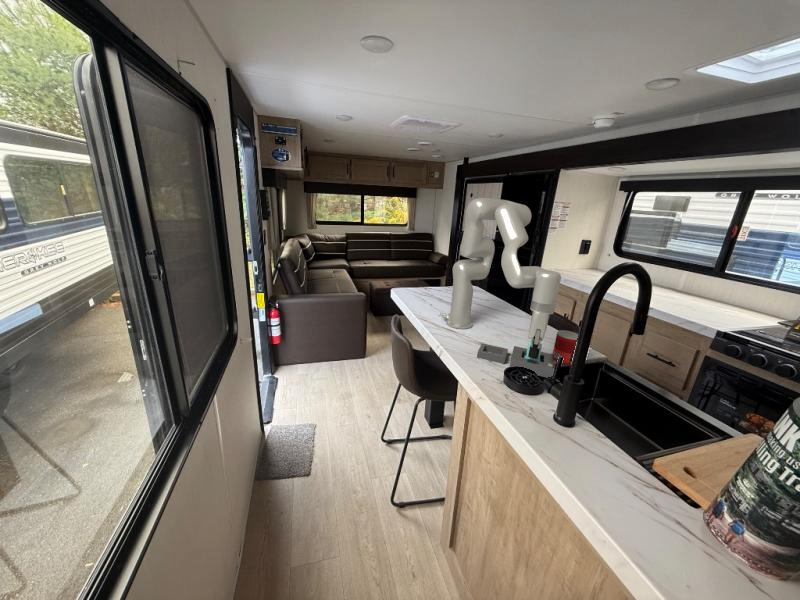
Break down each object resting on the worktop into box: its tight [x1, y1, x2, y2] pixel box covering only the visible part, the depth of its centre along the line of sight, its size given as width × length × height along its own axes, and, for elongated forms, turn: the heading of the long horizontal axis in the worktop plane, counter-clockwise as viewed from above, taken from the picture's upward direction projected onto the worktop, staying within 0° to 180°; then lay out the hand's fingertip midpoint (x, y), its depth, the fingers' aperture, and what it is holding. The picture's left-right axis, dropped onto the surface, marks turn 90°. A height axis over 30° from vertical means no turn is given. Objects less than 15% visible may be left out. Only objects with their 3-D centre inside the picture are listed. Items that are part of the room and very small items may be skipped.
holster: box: [476, 342, 509, 365], centre depth 118 cm, size 10×9×2 cm
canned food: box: [552, 329, 579, 366], centre depth 117 cm, size 8×8×11 cm
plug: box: [524, 340, 543, 361], centre depth 111 cm, size 5×4×9 cm
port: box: [509, 345, 556, 379], centre depth 111 cm, size 14×12×5 cm
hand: (533, 354), depth 111 cm, fingers open, 4 cm apart
